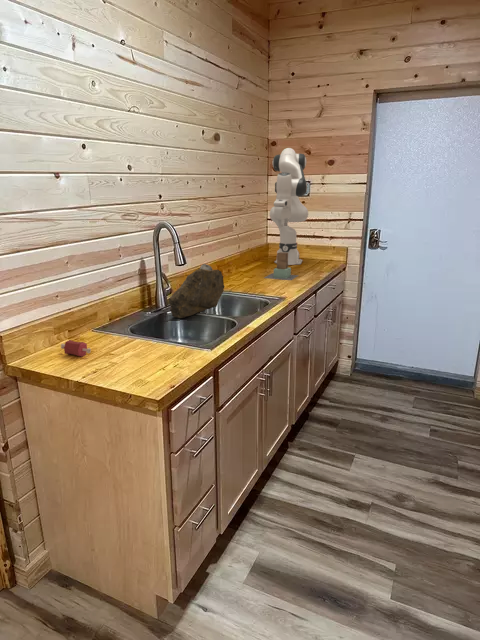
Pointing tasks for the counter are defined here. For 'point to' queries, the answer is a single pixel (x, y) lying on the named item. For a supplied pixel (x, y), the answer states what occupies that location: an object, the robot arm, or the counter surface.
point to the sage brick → (282, 273)
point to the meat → (75, 348)
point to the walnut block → (282, 260)
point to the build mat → (281, 278)
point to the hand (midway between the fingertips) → (283, 226)
